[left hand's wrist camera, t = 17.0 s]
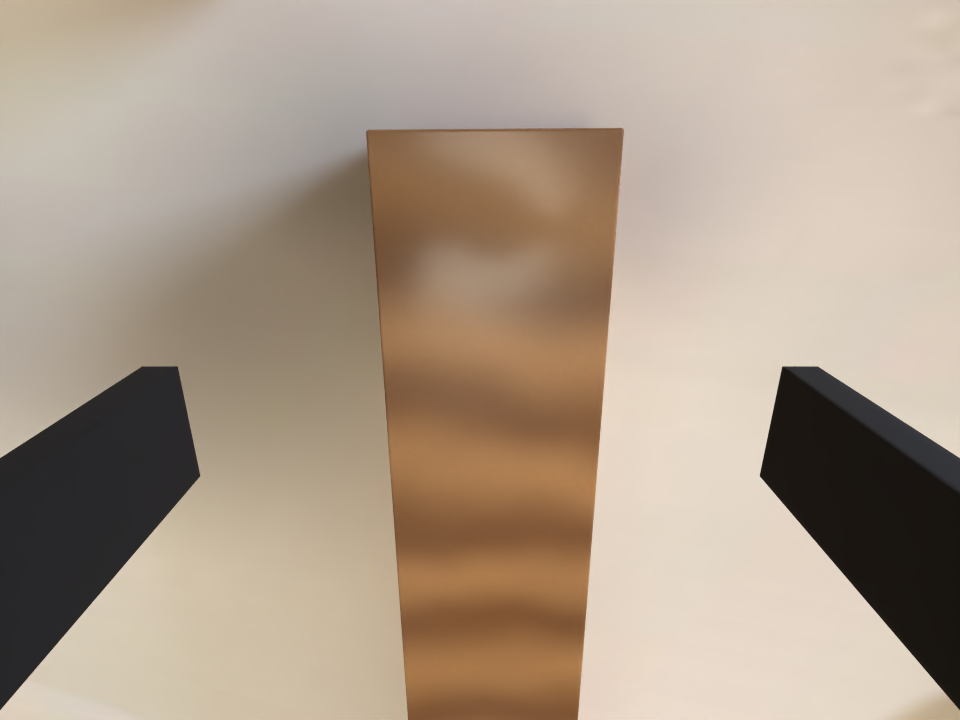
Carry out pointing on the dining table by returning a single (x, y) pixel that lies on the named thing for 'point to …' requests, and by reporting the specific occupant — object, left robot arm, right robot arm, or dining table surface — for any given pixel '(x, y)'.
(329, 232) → the dining table surface
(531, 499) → the long wooden beam
